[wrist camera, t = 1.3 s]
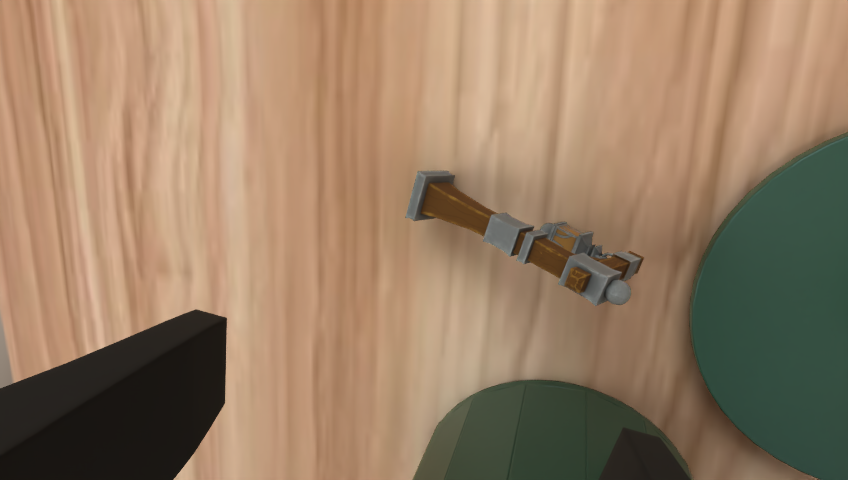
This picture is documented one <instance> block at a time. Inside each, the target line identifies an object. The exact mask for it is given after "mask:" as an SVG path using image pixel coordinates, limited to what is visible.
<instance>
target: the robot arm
mask: <svg viewBox="0 0 848 480" xmlns="http://www.w3.org/2000/svg"><path fill="white" fill-rule="evenodd" d="M226 328H227V318H225V317H222V316H218V315H214V314H211V313H207V312H203V311H200V310H193V311H191V312H188V313H185V314H183V315H180V316H178V317H175V318H173V319H170V320H168V321H165V322H163V323H161V324H158V325H156V326H154V327H151V328H149V329H147V330H144V331H142V332H140V333H137V334H135V335H133V336H130V337H128V338H126V339H123V340H121V341H118V342H116V343H114V344H111V345H109V346H107V347H104V348H102V349H99V350H97V351H95V352H92V353H90V354H87V355H85V356H83V357H80V358H78V359H76V360H73V361H71V362H68V363H66V364H63V365H61V366H58V367H55V368H53V369H50V370H48V371H45V372H42V373H40V374H37V375H34V376H32V377H29V378H27V379H24V380H21V381H19V382H16V383H13V384H11V385H9V386H6V387H3V388H0V480H173V479H174V478H175V477H176V476H177V474H178V473H179V472H180V470H181V469H182V468H183V467H184V465H185V464H186V463H187V461H188V460H189V459H190V458H191V456H192V455H193V454H194V452H195V451H196V449H197V448H198V446H199V445H200V443H201V441H202V440H203V438H204V437H205V435H206V434H207V432H208V430H209V429H210V427H211V426H212V424H213V422H214V421H215V419H216V417H217V416H218V414H219V412H220V411H221V409H222V407H223V406H224V404H225V375H226ZM599 480H690V478H689V477H688V475H687V474H686V473H685V471H684V470H683V468H682V467H681V465H680V464H679V463H678V461H677V460H676V458H675V457H674V456H673V454H672V453H671V452H670V450H669V449H668V448H667V446H666V445H665V444H664V442H663V441H662V440H661V438H660V437H657V436H653V435H650V434H646V433H642V432H639V431H635V430H631V429H628V428H624V427H623V428H622V431H621V433H620V435H619V437H618V439H617V441H616V443H615V446H614V448H613V450H612V452H611V454H610V456H609V458H608V461H607V463H606V465H605V467H604V469H603V471H602V473H601V476H600V478H599Z"/></svg>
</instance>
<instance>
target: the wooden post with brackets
mask: <svg viewBox="0 0 848 480" xmlns="http://www.w3.org/2000/svg"><path fill="white" fill-rule="evenodd" d="M454 177H455V175H451V174H450V173H449V171H418V172H417V176H416V179H415V183H414V187H413V191H412V195H411V198H410V202H409V206H408V210H407V214H406V217H405V218H410V219H413V221H418V220H426V219H434V218H439V219H442V220H445V221H447V222H450V223H453V224H456V225H459V226H461V227H464V228H467V229H470V230H472V231H474V232H476V233H478V234H480V235H482V236H484V239H483V241H484V242H487V243H490V244H492V245H494V246H496V247H497V248H499V249H501V250H503V251H504V252H505V253H506V254H507V255H508V256H509V257H511V256H514V255H518V258H517V260H516V261H520V262H522V263H523V264H526V263H530V262H531V263H533V264H535V265H537V266H538V267H540V268H542V269H544V270H546V271H547V272H549V273H551V274H553V275H555V276H556V277H558V278H560V281H559V283H558V284H559V285H562V286H564V287H567V288H569V289H570V290H572V291H574V292H576V293H577V294H579V295H581V296H583V297H584V298H586V299H588V300H589V301H590V302H592V303H593V304H594V305H595V306H597V305H599V304H601V303H604V302H606V301H609V302H610V303H612V304H616V305H622V304H624V303H626V302H627V301H628V300H629V299H630V296H631V289H630V287H629V285H628V284H627V283H625V282H623V281H625V280H628V279H630V278H631V276H633V275H634V274H636V273H637V272H638V270H639V268H640V266H641V264H642V261H643V259H644V257H642V256H640V255H638V254H635V253H633V252H631V251H629V252H622V251H620V252H617V253H613V254H612V253H605V254H601V253H602V245H599V246H596V247H595V245H596V244H595V245H592V236H593V233H594V232H587V233H583V234H582V233H581V232H579V231H577V230H575V229H573V228H571V227H569V226H568V225H567V222H561V223H556V224H551V223H546V224H544V225H543V226H542V227H541V229H540V230H537V231H533V228H534V226H532V225H528V224H525V223H523V222H521V221H519V220H517V219H515V218H513V217H511V216H510V215H509V214H507V213H501V214H498V213H496V212H494V211H492V210H490V209H488V208H486V207H484V206H483V205H481V204H479V203H478V202H476V201H475V200H473V199H472V198H470V197H468V196H467V195H465V194H464V193H462V192H460V191H459V190H458V189H457V188H455V187H454V186H453V185H452V184H453V180H454ZM607 255H609V256H612V257H611V258H608V259H607V257H606V256H607ZM601 256H602V257H601Z"/></svg>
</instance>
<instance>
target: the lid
mask: <svg viewBox="0 0 848 480" xmlns="http://www.w3.org/2000/svg"><path fill="white" fill-rule="evenodd" d="M689 327H690V335H691V343H692V348H693V351H694V355H695V358H696V362H697V365H698V368H699V370H700V372H701V375H702V377H703V379H704V381H705V383H706V385H707V388H708V390H709V392H710V393H711V395H712V396H713V398H714V399H715V401H716V402H717V404H718V405H719V407H720V409H721V410H722V411H723V412H724V414H725V415H726V416H727V417H728V418H729V419H730V420H731V422H732V423H733V424H734V425H735V426H736V427H737V428H738V429H739V430H740V431H741V432H742V433H743V434H745V435H746V436H747V437H748V438H749V439H750V440H751V441H752V442H754V443H755V444H756V445H758V446H759V447H760V448H762V449H763V450H765V451H766V452H768V453H769V454H771V455H772V456H773V457H775V458H777V459H778V460H780V461H782V462H784V463H786V464H788V465H790V466H791V467H793V468H795V469H797V470H799V471H801V472H804V473H806V474H808V475H811V476H813V477H816V478H818V479H821V480H848V132H847V133H845V134H842V135H840V136H837V137H835V138H832V139H830V140H827V141H825V142H823V143H821V144H819V145H817V146H815V147H814V148H812V149H810V150H808V151H806V152H804V153H802V154H800V155H798V156H797V157H795V158H793V159H792V160H791V161H789V162H788V163H786V164H785V165H783V166H782V167H780V168H779V169H777V170H776V171H774V172H773V173H771V174H770V175H769V176H768V177H766V178H765V179H764V180H763V181H762V182H761V183H759V184H758V185H757V186H756V187H755V188H754V189H752V190H751V191H750V192H749V193H748V194H747V195H746V196H745V197H744V198H743V199H742V200H741V201H740V202H739V203H738V205H737V206H736V207H735V208H734V209H733V210H732V211H731V212H730V213H729V214H728V216H727V217H726V219H725V220H724V221H723V223H722V224H721V226H720V227H719V229H718V230H717V231H716V233H715V234H714V236H713V238H712V239H711V241H710V243H709V245H708V247H707V249H706V251H705V253H704V255H703V257H702V259H701V262H700V265H699V267H698V270H697V273H696V276H695V279H694V283H693V288H692V294H691V299H690V314H689Z"/></svg>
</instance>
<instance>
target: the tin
mask: <svg viewBox="0 0 848 480" xmlns="http://www.w3.org/2000/svg"><path fill="white" fill-rule="evenodd" d="M623 427H624V428H628V429H631V430H635V431H639V432H642V433H646V434H650V435H653V436H657V437H660V438H661V440H662V441H663V442H664V444H665V445H666V446H667V448H668V449H669V450H670V452H671V453H672V454H673V456H674V457H675V458H676V460H677V461H678V463H679V464H680V465H681V467H682V468H683V470H684V471H685V473H686V474H687V475H688V477H689V478H690V480H694V479H693V476H692V474H691V472H690V470H689V468H688V465H687V464H686V462H685V460H684V459H683V458H682V456H681V455H680V453H679V452H678V450H677V448H676V447H675V446H674V445H673V444H672V442H671V441H670V440H669V439H668V438H667V437H666V436H665V434H664V433H663V432H662V431H660V430H659V429H658V428H657V427H656V426H655V425H654V424H653V423H652V422H650V421H649V420H648V419H647V418H645V417H644V416H643V415H641V414H640V413H638V412H637V411H635V410H634V409H633V408H631V407H629V406H627V405H626V404H624V403H622V402H620V401H618V400H617V399H615V398H613V397H610V396H608V395H605V394H603V393H601V392H598V391H596V390H593V389H589V388H586V387H582V386H579V385H576V384H570V383H564V382H559V381H547V380H525V381H515V382H509V383H504V384H500V385H496V386H493V387H490V388H487V389H484V390H482V391H480V392H478V393H476V394H473V395H471V396H470V397H468V398H467V399H465V400H464V401H462V402H461V403H459V404H458V405H457V406H455V407H454V408H453V409H452V410H451V411H450V412H449V413H448V414H447V415H446V416H445V417H444V419H443V420H442V421H441V422H440V423H439V424H438V425H437V427H436V429H435V431H434V433H433V436H432V438H431V440H430V442H429V444H428V446H427V449H426V451H425V453H424V455H423V457H422V460H421V462H420V464H419V466H418V469H417V471H416V473H415V475H414V478H413V480H599V478H600V476H601V473H602V471H603V469H604V467H605V465H606V463H607V461H608V458H609V456H610V454H611V452H612V450H613V448H614V446H615V443H616V441H617V439H618V437H619V435H620V433H621V431H622V428H623Z"/></svg>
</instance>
